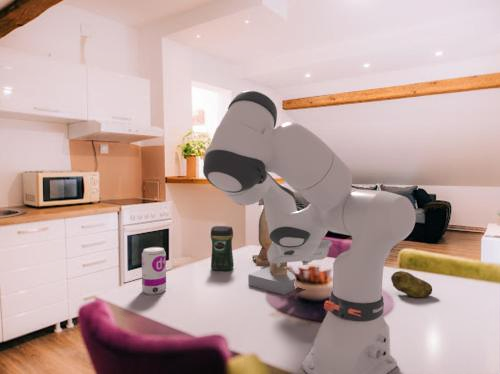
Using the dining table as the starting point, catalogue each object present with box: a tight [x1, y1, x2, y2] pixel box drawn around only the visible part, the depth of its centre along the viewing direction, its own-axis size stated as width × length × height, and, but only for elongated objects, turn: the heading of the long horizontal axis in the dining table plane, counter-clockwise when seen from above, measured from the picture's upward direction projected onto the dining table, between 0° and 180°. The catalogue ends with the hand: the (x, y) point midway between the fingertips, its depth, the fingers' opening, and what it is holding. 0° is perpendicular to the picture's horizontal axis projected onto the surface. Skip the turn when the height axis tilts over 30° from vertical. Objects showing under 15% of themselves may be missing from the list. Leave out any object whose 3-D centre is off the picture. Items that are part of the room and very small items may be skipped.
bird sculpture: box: [252, 199, 273, 266], centre depth 162 cm, size 11×12×32 cm
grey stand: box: [248, 266, 300, 296], centre depth 133 cm, size 16×16×4 cm
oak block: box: [269, 262, 288, 276], centre depth 132 cm, size 5×5×10 cm
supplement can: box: [141, 246, 167, 296], centre depth 125 cm, size 8×8×15 cm
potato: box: [390, 270, 433, 298], centre depth 121 cm, size 8×13×8 cm, turn 63°
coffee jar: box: [209, 225, 235, 272], centre depth 152 cm, size 10×8×19 cm
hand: (291, 264), depth 120 cm, fingers open, 8 cm apart
